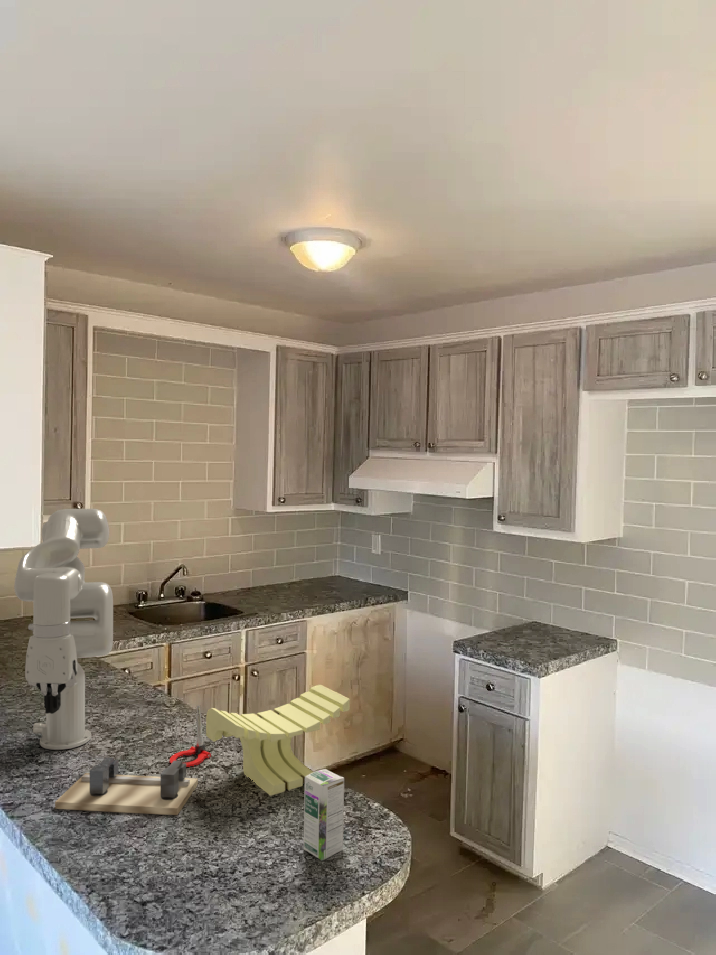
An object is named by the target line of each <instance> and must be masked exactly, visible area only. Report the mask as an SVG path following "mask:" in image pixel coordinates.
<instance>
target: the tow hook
mask: <svg viewBox="0 0 716 955" xmlns="http://www.w3.org/2000/svg"><path fill="white" fill-rule="evenodd" d="M200 706H201V705H199V704H198V705H196V714H195V715H196V717H195V718H196V719H195V720H196V736H195V739H196V742H195V743H196V744H195V745H194V746H190V748H189V749H186V750H182V751H178V752H176V753H174V754H173V755H171V757H170V758H169V764H170V763H171V764H172V762H173V761H177V760H178V759H179V758H178V757H180V756H182V757H184V756H183V755H186V756H193V755H196V754H198V755H197V758H196V759H194V760H192V761H187V762H185V763H186V767H189V768H191V767H190V766H193V767H195V766H194V765H196V766H199V765H200V764H202V763H203V762H204V760H205V759H210V758H211V757H212V753H211V752H210V751H207V750H206V745H205V744H204V735H203V730H202V713H201V707H200ZM192 754H193V755H192ZM209 757H210V758H209ZM177 758H178V759H177ZM180 758H181V757H180ZM176 759H177V760H176ZM171 764H170V765H171Z"/></svg>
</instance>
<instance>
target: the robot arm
mask: <svg viewBox="0 0 716 955" xmlns="http://www.w3.org/2000/svg"><path fill="white" fill-rule="evenodd" d="M41 538H42V539H41V540H42V542H40V543H39V544H37V545H36V546H34V547H33V548H31V549H29V550H28V551H27V552H25V553H24V554H23V555H22V556H21V558H20V560H19V562H18V566H17V570H16V572H15V577H14V588H13V589H14V593H15V596H16V597H17V598H18V599H19V600H20V601H23V602H32V604H33V606H32V607H33V608H32V609H33V611H32V612H33V613H32V615H33V616H32V617H33V621H32V623H29V624H28V626H27V628H28V630H30V631H32V635H30V636H29V640H28V644H27V649H26V654H25V667H24V668H25V669H24V670H25V673H24V675H25V676H24V677H25V680H26V681H27V683H28V685H29V686H33V687H36V688H37V689H39V691H40V692H41V695H42V696H43V702H44V703H43V704H44V706H43V707H44V710H45V718H46V720H45V723H41V722H40V723H38V722H35V723H34V724H33V727H32V729H33V730H32V733H33V734H35V735H36V734H37V735H38V734H41V736H40V739H39V745H40V746H41V747H42V748H44V749H46V750H52V751H53V750H55V751H61V750H68V749H75V748H77V747H81V746H82V745H85V744H86V743H89V741H91V739H92V732H91V730H89V729H87V728H86V696H85V695H86V675H85V671H84V669H83V667H82V666H81V665H80V663H79V662H78V659H80V658H81V659H84V658H85V659H86V658H94V657H105V656H107V655H109V654H110V653H111V652H112V649H113V645H114V597H113V596H114V594H113V591H112V588H111V586H110V584H109V583H107V582H103V581H94V582H91V581H90V582H86V581H85V579H86V578H85V576H86V574H85V573H86V568H85V564H84V563H83V561H82V560H81V559H80V558H79V557H78V555H79V553H80V549H83V550H84V549H101V548H103V547H106V546H107V544H108V543H109V539H110V526H109V522H108V519H107V516H106V513H104V511H103V510H100V509H97V508H64V509H63V508H62V509H58V510H56V511H54V512H53V513H51V514H50V516H49V517H48V520H47V521H46V522H44V523H43V525H42V527H41ZM86 618H91V619H92V618H93V619H94V620H81V621H80V620H76V621H71V619H86Z"/></svg>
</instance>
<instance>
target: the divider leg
mask: <svg viewBox="0 0 716 955" xmlns="http://www.w3.org/2000/svg"><path fill="white" fill-rule="evenodd" d="M119 764H120V763H119V759H115V757H107V756H105V757H104V758H103V760H101V761H100V762H99V763H98V764H95V765H94V766H92V768H91V769H90V770H89V773H90V793H94V794H103V793H104V792H105V791H106V790H107V789H108V788H109V777H113V778H114V777H115V776H116V775H119V768H120V766H119Z"/></svg>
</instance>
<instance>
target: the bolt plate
mask: <svg viewBox="0 0 716 955" xmlns="http://www.w3.org/2000/svg"><path fill="white" fill-rule="evenodd" d="M198 784H199V778H197V777H196V778H195V777H187V768H186V762H183V760H176V761H173V762H172V764H169V766H168V767H166V768H164V769H163V771H162V772H161V773H160V776H154V775H153V776H151V775H132V774H131V775H130V774H129V775H128V774H117V775H116V776H115V777H114V778H113V777H109V788H108V789H107V790H106V791H105V792H104V793H103V794H94V793H90V772H88V773H87V772H85V773H84V774H83V775H82V776H81V777H80V778H78V780H77V781H75V782H74V783H73V784H72V785H71V786H70V787H69V788H67V790H66V791H65V792H64V793H63V794H62V795H61V796H59V797H58V798H57V800H55V802H54V810H57V809H58V810H71V811H91V812H108V813H111V812H112V813H125V814H126V813H128V814H129V813H131V814H148V815H149V814H150V815H165V816H166V815H168V816H178V815H179V814H180V812H181V811H182V809H183V808H184V806H185V805H186V803H187V802H188V800H189V799H190V797H191V796H192V795H193V793H194V792H195V790H196V788H197V787H198V786H199V785H198ZM197 785H198V786H197ZM193 791H194V792H193Z"/></svg>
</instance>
